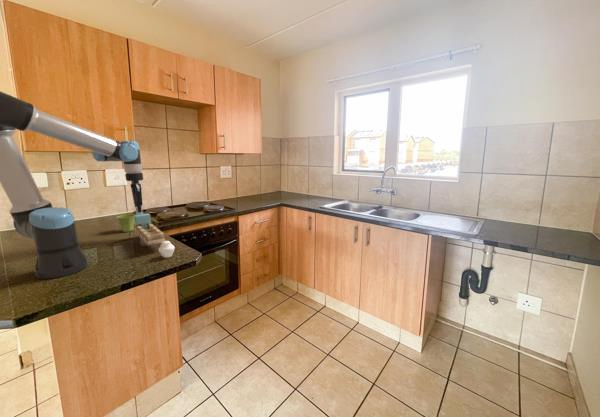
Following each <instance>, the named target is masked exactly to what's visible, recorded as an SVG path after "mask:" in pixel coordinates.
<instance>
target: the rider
mask: <svg viewBox="0 0 600 417" xmlns="http://www.w3.org/2000/svg"><path fill="white" fill-rule="evenodd" d="M134 220H135V223H136V224H137V225H140V226H141V227H142V228H143V229H146V228H148V224H147V223H151V224H152V218H151V214H150V213H148V212H147V213H143V214H139V215H136V214H135V215H134Z"/></svg>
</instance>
